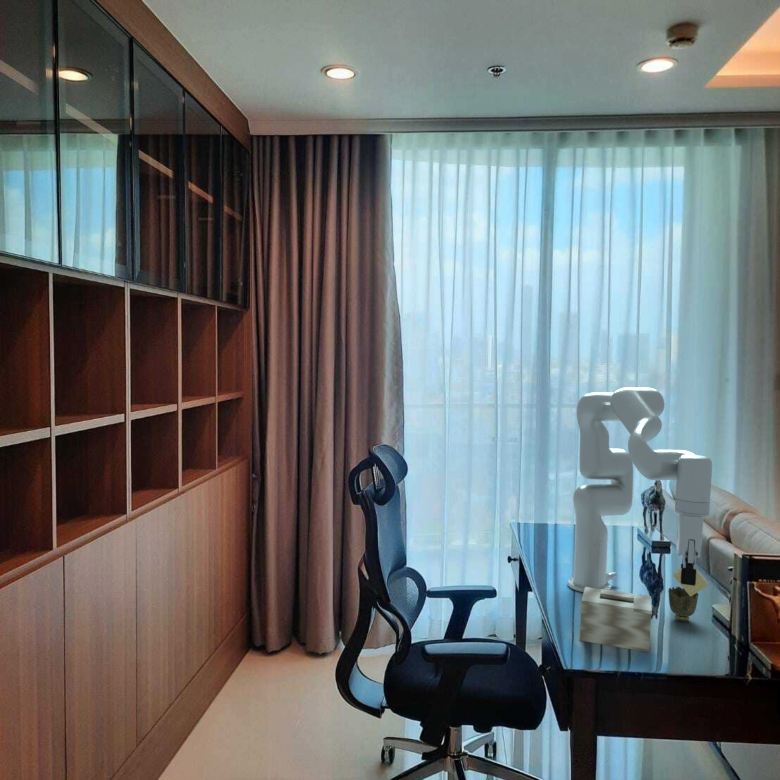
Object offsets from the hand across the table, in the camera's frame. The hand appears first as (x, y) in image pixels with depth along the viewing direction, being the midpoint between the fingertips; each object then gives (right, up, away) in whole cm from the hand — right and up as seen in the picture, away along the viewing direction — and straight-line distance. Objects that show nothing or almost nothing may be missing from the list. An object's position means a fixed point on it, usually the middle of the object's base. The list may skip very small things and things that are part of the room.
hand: (687, 582), depth 162 cm
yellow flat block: (+2, -2, -1) cm, 3 cm away
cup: (+7, -16, +19) cm, 26 cm away
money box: (-16, -16, +6) cm, 23 cm away
